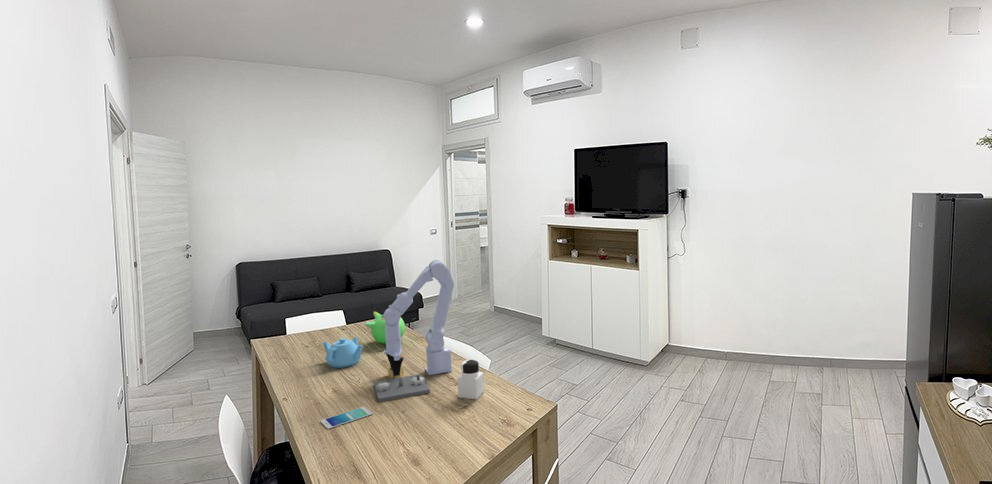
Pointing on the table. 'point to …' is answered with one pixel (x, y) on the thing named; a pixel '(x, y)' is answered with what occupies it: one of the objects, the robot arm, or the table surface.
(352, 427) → the table surface
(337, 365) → the teapot
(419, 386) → the gear board
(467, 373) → the medicine bottle
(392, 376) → the brass gear
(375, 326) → the toy bird
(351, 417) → the smartphone
